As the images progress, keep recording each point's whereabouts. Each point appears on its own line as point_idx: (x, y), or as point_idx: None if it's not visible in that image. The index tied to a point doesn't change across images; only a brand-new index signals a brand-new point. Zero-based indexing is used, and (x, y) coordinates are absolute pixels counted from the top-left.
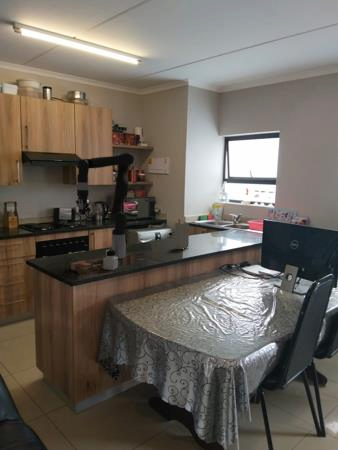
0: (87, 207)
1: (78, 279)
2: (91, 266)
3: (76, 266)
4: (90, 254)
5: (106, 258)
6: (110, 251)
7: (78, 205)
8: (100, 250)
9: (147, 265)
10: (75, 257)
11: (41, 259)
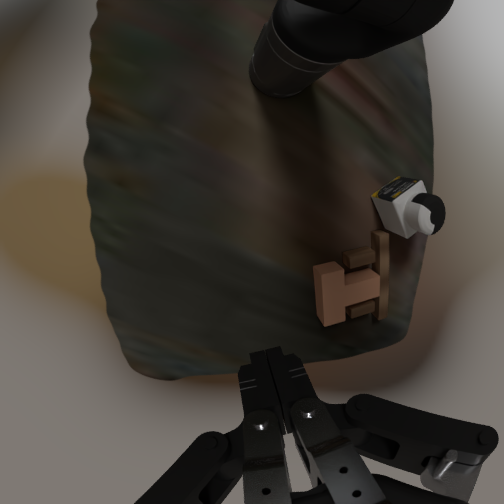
0: (384, 403)
1: (402, 327)
2: (385, 277)
3: (353, 316)
4: (145, 144)
5: (416, 231)
6: (441, 225)
7: (215, 496)
8: (105, 72)
9: (426, 89)
10: (161, 230)
11: (131, 344)
